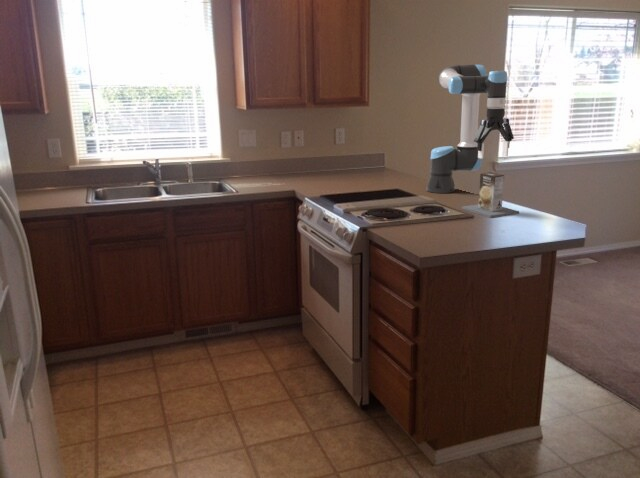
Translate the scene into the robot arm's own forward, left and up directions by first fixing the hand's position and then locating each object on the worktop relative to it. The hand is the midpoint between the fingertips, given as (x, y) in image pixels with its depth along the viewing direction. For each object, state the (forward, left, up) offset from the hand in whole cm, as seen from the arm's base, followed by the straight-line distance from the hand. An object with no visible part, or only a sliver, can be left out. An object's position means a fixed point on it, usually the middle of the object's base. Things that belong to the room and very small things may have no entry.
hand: (492, 157), depth 249 cm
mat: (0, 0, -25) cm, 25 cm away
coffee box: (0, 0, -24) cm, 24 cm away
